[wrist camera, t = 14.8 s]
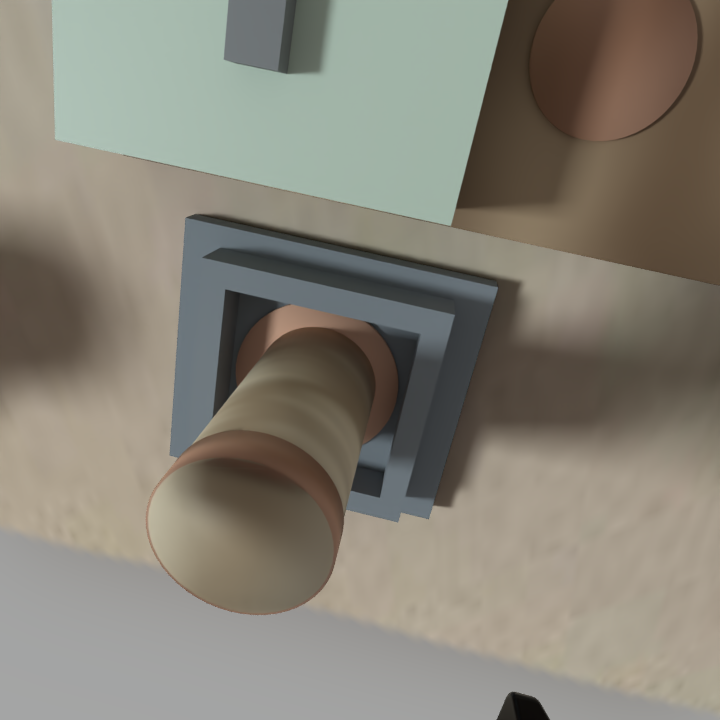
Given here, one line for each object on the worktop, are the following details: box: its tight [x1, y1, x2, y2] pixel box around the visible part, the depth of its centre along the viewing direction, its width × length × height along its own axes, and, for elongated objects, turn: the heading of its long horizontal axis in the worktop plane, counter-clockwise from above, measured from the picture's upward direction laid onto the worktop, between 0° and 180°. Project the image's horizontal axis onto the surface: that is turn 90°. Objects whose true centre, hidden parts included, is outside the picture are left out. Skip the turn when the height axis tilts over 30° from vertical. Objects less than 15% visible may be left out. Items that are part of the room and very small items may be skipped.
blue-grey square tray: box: [170, 214, 498, 522], centre depth 19 cm, size 10×9×2 cm
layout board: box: [124, 0, 720, 286], centre depth 15 cm, size 20×10×1 cm, turn 79°
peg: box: [146, 327, 376, 615], centre depth 16 cm, size 4×4×8 cm
